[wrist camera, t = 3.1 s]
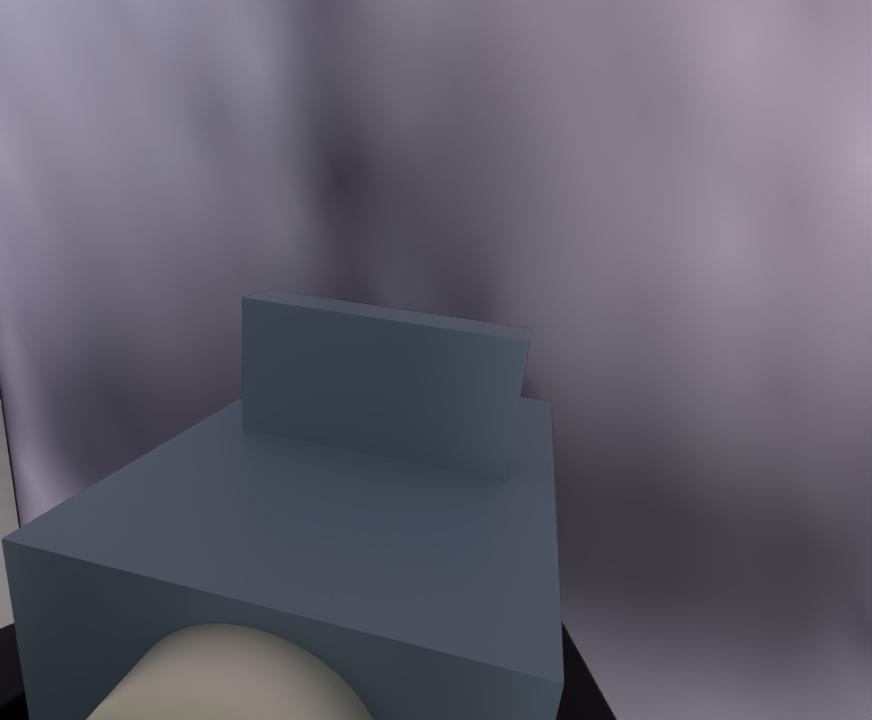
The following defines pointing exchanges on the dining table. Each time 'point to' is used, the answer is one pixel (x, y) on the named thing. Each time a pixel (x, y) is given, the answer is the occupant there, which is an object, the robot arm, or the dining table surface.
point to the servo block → (314, 539)
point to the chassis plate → (5, 523)
